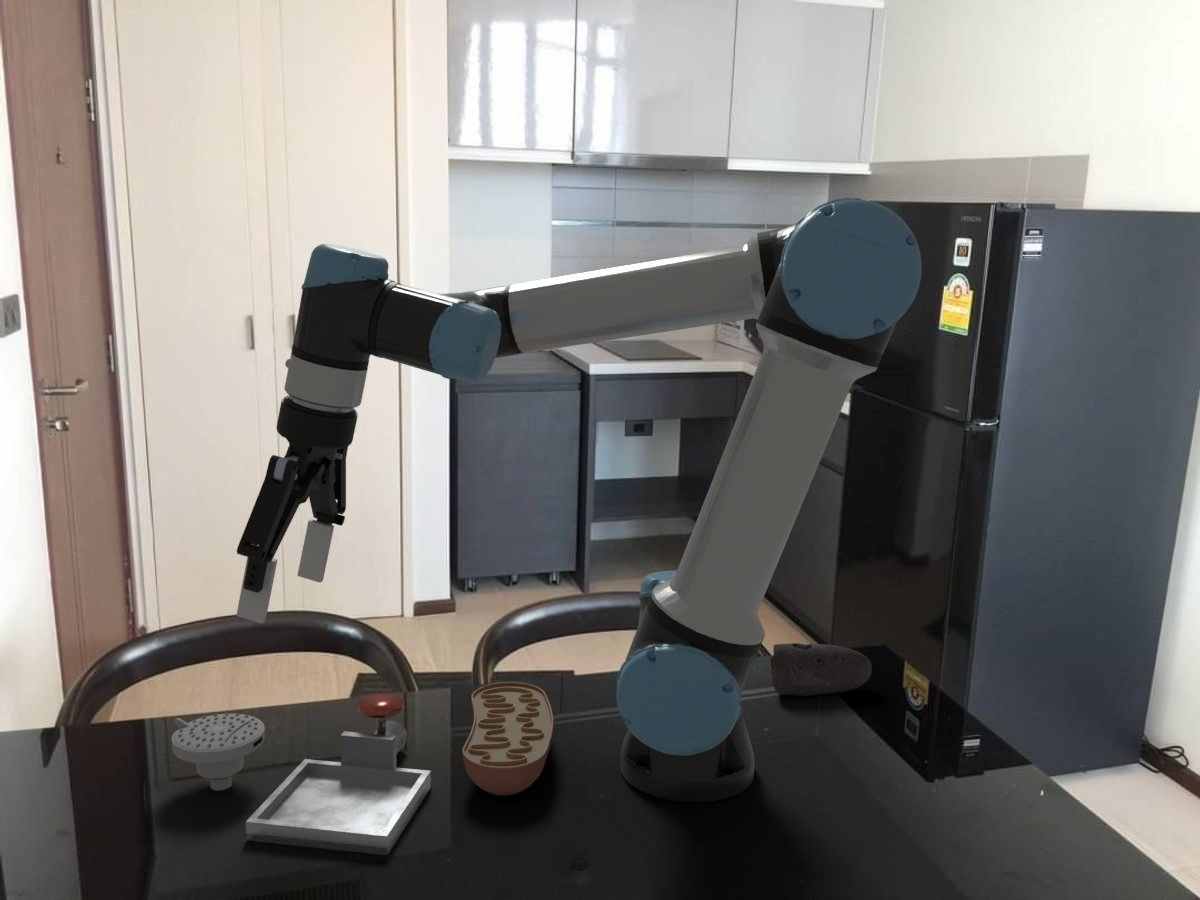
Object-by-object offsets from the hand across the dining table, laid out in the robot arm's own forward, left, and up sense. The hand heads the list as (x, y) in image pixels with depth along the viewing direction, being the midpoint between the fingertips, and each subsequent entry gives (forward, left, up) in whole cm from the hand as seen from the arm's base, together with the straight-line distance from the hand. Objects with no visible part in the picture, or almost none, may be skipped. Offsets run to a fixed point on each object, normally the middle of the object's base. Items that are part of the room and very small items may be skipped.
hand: (282, 597), depth 108 cm
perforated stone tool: (-58, -39, -22) cm, 73 cm away
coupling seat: (-7, -1, -22) cm, 23 cm away
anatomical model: (-21, -12, -22) cm, 33 cm away
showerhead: (+8, 0, -22) cm, 24 cm away
